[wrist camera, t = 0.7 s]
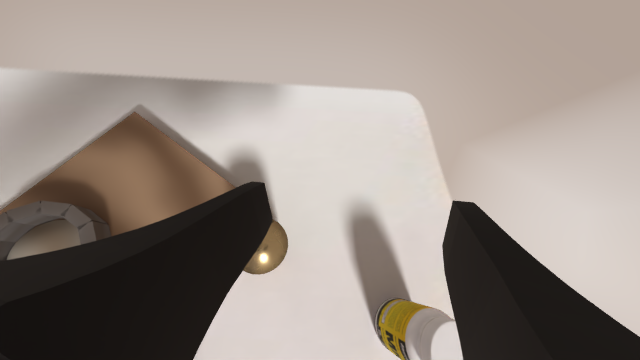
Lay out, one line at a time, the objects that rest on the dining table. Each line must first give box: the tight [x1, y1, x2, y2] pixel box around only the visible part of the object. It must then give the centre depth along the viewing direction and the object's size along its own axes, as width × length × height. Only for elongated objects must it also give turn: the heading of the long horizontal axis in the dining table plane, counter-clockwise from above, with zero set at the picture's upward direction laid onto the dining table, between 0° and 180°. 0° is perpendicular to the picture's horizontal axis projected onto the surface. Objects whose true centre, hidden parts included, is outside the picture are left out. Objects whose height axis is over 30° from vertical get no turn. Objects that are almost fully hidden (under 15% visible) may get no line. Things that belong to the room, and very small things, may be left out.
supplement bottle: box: [375, 298, 463, 360], centre depth 20 cm, size 5×5×8 cm
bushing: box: [243, 220, 288, 274], centre depth 20 cm, size 4×4×7 cm
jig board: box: [0, 112, 236, 261], centre depth 20 cm, size 20×14×4 cm
